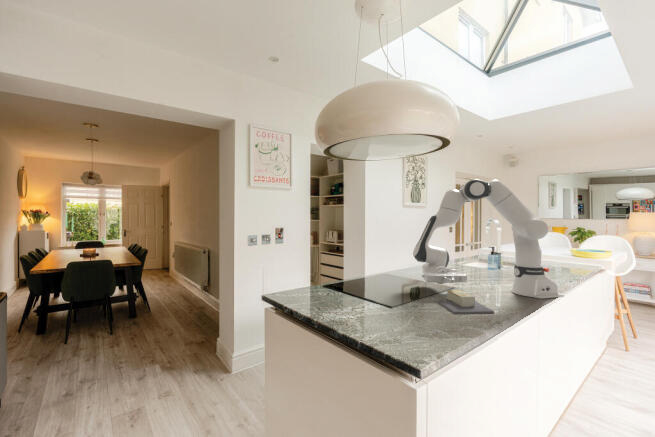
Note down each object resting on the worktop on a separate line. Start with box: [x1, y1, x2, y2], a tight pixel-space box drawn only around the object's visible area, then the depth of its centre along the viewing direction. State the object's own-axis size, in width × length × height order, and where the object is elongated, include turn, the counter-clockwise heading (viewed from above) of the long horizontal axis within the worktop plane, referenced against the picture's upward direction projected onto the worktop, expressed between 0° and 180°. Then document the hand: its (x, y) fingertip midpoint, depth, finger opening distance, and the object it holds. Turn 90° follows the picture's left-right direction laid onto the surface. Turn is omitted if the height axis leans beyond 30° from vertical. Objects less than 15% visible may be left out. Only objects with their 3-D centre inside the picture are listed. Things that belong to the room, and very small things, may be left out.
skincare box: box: [446, 289, 476, 307], centre depth 136 cm, size 6×4×12 cm
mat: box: [437, 299, 495, 315], centre depth 132 cm, size 17×16×1 cm
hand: (452, 281), depth 142 cm, fingers closed
